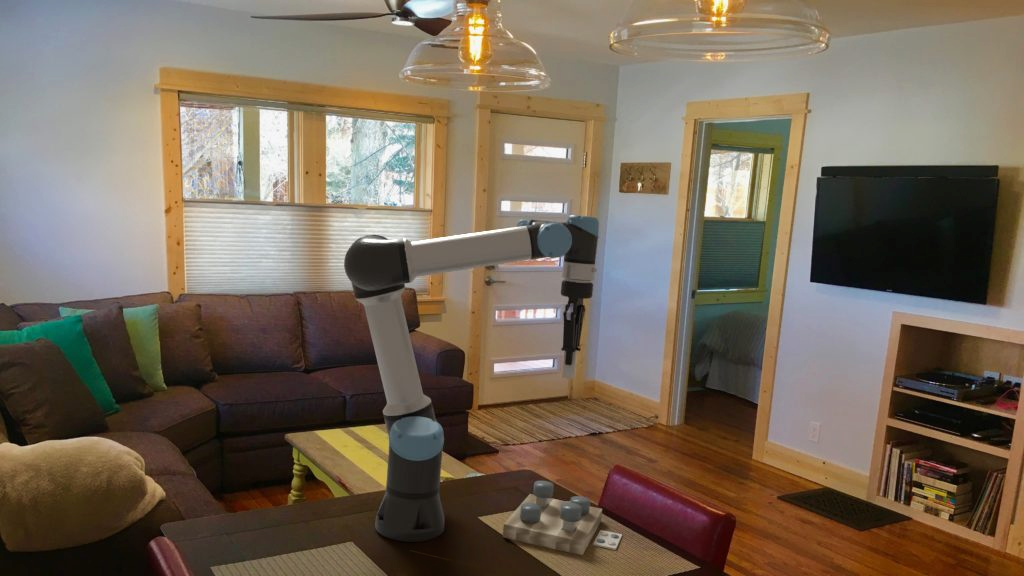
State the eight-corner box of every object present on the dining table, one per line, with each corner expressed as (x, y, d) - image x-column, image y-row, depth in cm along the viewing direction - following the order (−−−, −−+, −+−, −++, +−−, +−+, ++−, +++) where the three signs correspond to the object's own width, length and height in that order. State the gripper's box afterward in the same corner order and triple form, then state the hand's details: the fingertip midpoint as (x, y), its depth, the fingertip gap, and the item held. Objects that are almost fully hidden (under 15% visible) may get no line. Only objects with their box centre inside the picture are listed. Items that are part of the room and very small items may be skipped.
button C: (555, 533, 163) (558, 508, 163) (561, 525, 168) (563, 501, 167) (576, 537, 162) (579, 512, 161) (581, 529, 166) (583, 505, 166)
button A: (515, 533, 166) (518, 508, 166) (522, 525, 171) (524, 501, 170) (535, 537, 165) (538, 512, 164) (541, 529, 169) (543, 505, 169)
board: (502, 537, 164) (503, 524, 164) (528, 505, 183) (529, 493, 183) (582, 555, 159) (584, 541, 159) (601, 521, 178) (602, 508, 178)
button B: (529, 508, 175) (531, 485, 175) (535, 502, 180) (537, 479, 179) (548, 512, 174) (550, 489, 174) (553, 506, 178) (555, 483, 178)
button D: (566, 525, 173) (568, 501, 172) (570, 517, 177) (573, 494, 177) (585, 529, 172) (588, 505, 171) (589, 521, 176) (592, 498, 175)
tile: (593, 545, 164) (593, 542, 164) (600, 531, 172) (600, 529, 172) (615, 550, 163) (615, 547, 163) (621, 536, 170) (622, 533, 170)
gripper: (587, 284, 171) (577, 385, 174) (598, 280, 184) (589, 375, 186) (555, 280, 174) (546, 380, 176) (568, 277, 186) (559, 370, 188)
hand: (568, 377), depth 181 cm, fingers closed
